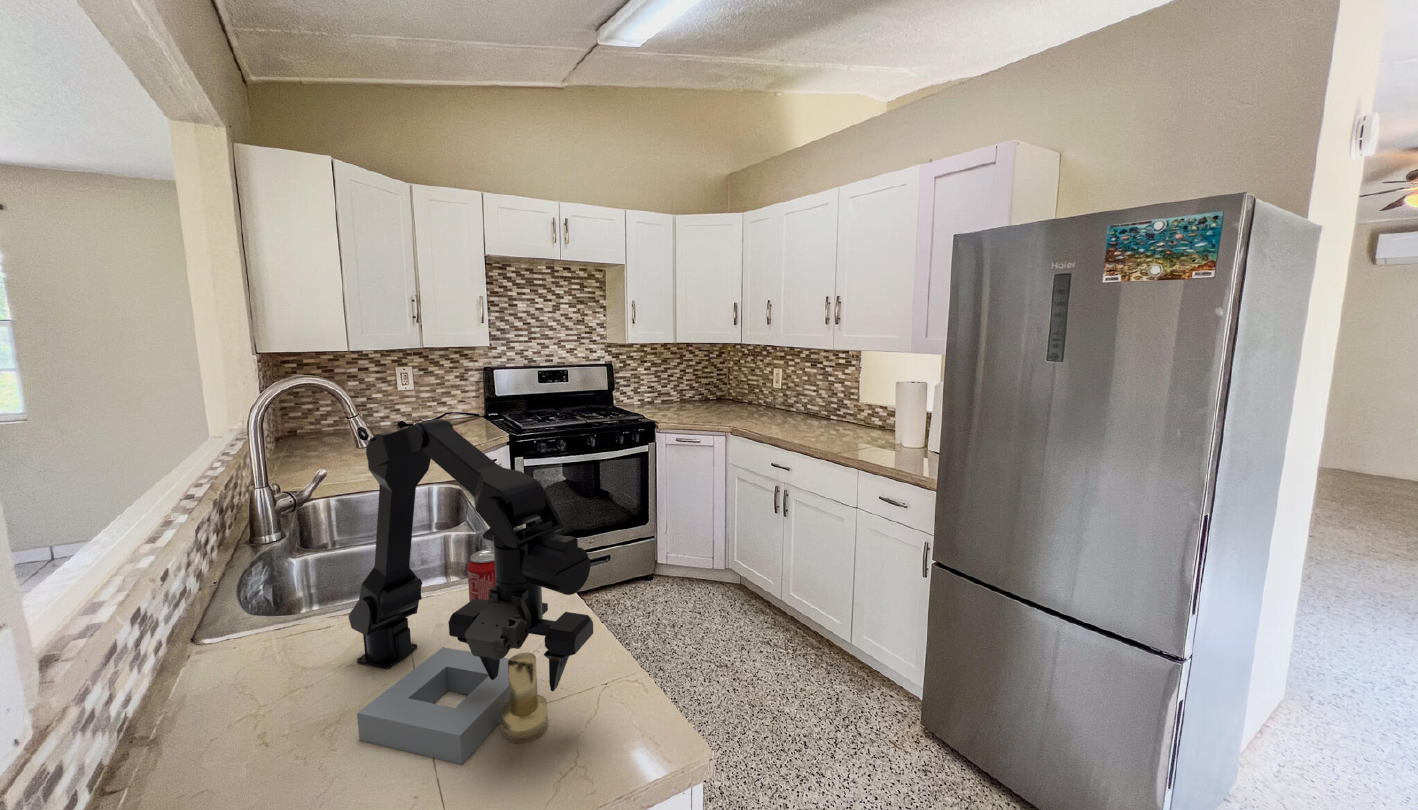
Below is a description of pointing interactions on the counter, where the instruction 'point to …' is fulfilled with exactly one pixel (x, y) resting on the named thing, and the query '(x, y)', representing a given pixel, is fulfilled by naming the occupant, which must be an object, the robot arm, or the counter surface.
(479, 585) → the soda can
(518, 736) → the stepped shaft
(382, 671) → the counter surface
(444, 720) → the housing
